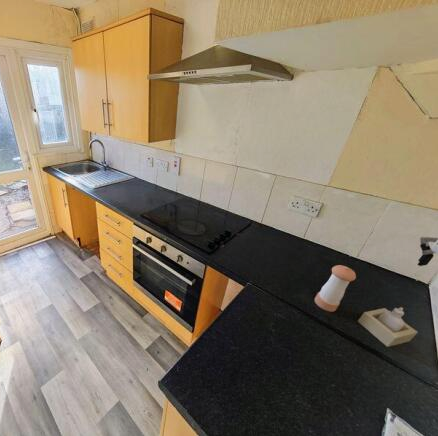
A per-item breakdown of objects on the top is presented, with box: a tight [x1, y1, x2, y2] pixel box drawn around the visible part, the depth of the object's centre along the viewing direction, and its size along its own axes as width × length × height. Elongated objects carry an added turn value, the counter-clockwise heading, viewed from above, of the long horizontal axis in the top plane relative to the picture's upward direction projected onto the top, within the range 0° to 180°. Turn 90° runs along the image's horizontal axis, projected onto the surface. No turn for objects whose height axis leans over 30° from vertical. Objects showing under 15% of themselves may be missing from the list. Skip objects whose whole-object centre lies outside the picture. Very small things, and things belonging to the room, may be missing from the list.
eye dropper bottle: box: [377, 306, 405, 333], centre depth 78 cm, size 4×6×12 cm
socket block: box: [357, 307, 418, 348], centre depth 80 cm, size 10×10×5 cm
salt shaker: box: [314, 264, 357, 313], centre depth 86 cm, size 7×7×19 cm
